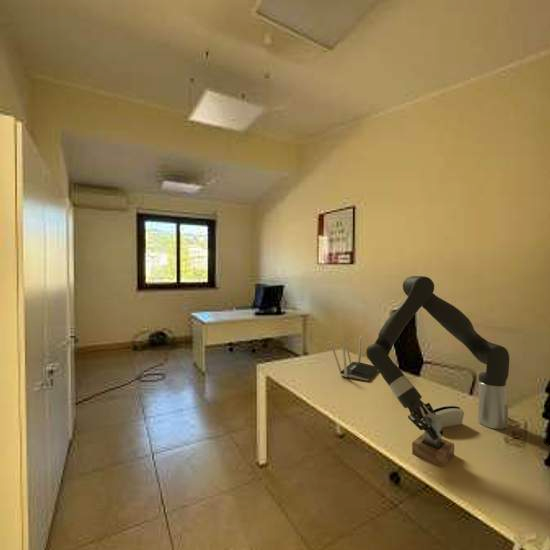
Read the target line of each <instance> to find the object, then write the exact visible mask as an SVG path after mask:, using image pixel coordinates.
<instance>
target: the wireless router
mask: <svg viewBox="0 0 550 550" xmlns="http://www.w3.org/2000/svg"><path fill="white" fill-rule="evenodd" d="M343 340H344V345H345V346H344V345H342V357H343V367H344V368H343V369H342V368H341V365H340V362H339V359H338V356H337V353H336V349H335V348H334V345H333V344H332V343H330V346H331V349H332V352H333V355H334V358H335V361H336V365H337V367H338V370H339V374H340V375H343V377H345V378H349V379H350V378H352V379H356V380H362V381H365V382H366V381H369V380H370V379H371V378H372V377H373V375H375V374H376V372H377V371H378V370H377V369H376V368H375V366H374V365H373V364H367V363H364V362H361V361H362V360H361V357H362V356H361V355H362V334H361V335H359V342H358V343H359V344H358V357H357V361H352V360H351V355H350V350H349V347H348V343H347V342H348V341H347V339H346V337H345V336H343ZM346 354H347V357H348V361H349V364H348V365H347V357H346Z"/></svg>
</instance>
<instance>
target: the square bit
mask: <svg viewBox="0 0 550 550" xmlns="http://www.w3.org/2000/svg"><path fill="white" fill-rule="evenodd" d="M425 417H426V418H427V422H428V423H429V424H430V426H431V427H432V429H433V430H434V431H435V433H436V434H437V435H438V436H439V438H438V439H436V440H433V439H432V438H431V437H430V436H429V434H428V433H427V431H426V430H424V432H425V445H428V446H430V447H433V448H435V449H438V450H439V449H440V448H441V439H442V435H441V429H442V428H441V426H442V416H439V415H436V414H433V413H430V412H429V413H428V414H427V415H425Z"/></svg>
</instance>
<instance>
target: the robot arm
mask: <svg viewBox="0 0 550 550" xmlns="http://www.w3.org/2000/svg"><path fill="white" fill-rule="evenodd" d="M402 290H403V293H404V294H405V295H406V296H407V298H406V299H405V301H404V302H403V303H402V305H401V306H400V307H398V308H397V310H395V311H394V312H393V313H392V314H391V315H390V316H389V317H388V318H387V319H386V321H385V323H384V324H383V326H381V329H380V330H379V332H378V337H377V339H376V341H375V342H374V343H373V344H369V345H368V346H367V348H366V351H365V354H366V357H367V359H368V360H369V361H370V363H371V365H372V366H375V368H376V369H377V371H378V372H379V374H380V375H381V376H382V378H383V380H384V381H385V382H386V384H387V386H389V388H390V390H391V392H392V393H393V394H394V396H395V397H396V399H397V400H398V402H399V403H400V404H401V405H402V407H403V408H404V409H408V410H409V412H410V413H409V414H408V415H407V419H408V420H409V421H411V422H412V423H413V424H414V425H415V426H416V427H417V428H418V429H419V430H420V431H425V430H426V431H427V433H428V434H429V436H430V437H431V438H432V439H433V440H436V439H438V438H439V436H438V435H437V434H436V433H435V431H434V430H433V429H432V427H431V426H430V424H429V423H428V422H427V418H426V417H425V415H427V414H428V413H429V412H430V413H433V414H435V412H434V410H433V407H432V405H431V404H430V403H429V402H427V403H425V402H424V401H422V397H423V396H422V395H421V394H420V392H419V391H418V389H417V388H416V387H415V386H414V384H413V383H412V382H411V381H410V379H409V378H408V377H407V376H406V375H405V374H404V373H403V371H402V370H401V369H400V368H399V367H398V366H397V365H396V363H394V362H393V360H392V359H391V357H390V356H389V355H390V353H391V351H392V349H393V346H394V345H395V344H396V342H397V340H398V339H399V337H400V336H401V334H402V332H403V331H404V329H405V327H406V326H407V325H408V324H409V323H410V321H411V320H412V318H413V317H414V316H415V314H417V312H418V311H419V310H420V308H422V309H425V311H426V312H427V313H428V314H429V315H430V316H431V317H432V318H433V319H434V320H435V321H436V322H437V323H439V324H440V326H442V327H443V328H444V329H445V330H446V331H447V332H449V334H450V335H452V336H453V337H454V338H456V340H458V341H459V342H461V344H463V345H464V347H465V348H467V349H468V350H469V351H470V353H471V354H472V355H473V357H474V358H476V359H477V360H478V361H479V362H480V363H482V364H484V365H486V370H485V371H483V372H480V373H479V374H478V413H477V414H478V416H477V417H478V423H479V424H481V425H482V426H484V427H487V428H489V429H493V430H503V429H509V404H508V403H507V399H506V397H507V395H506V393H507V391H506V390H507V380H508V378H509V374H510V373H509V372H510V353H509V351H508V349H507V347H504V346H502V345H499V344H496V343H493V342H490V341H488V340H487V339H486V338H484V337H482V336H481V335H480V334H479V333H478V332H477V331H476V330H475V328H474V326H473V323H472V322H471V320H470V318H469V317H468V316H467V315H465V313H463V311H461V310H460V309H459V308H457V307H456V306H454V305H453V304H452V303H449V302H447V301H446V300H444V299H443V298H441V297H439V296H437V295H436V294H435V293H434V292H435V283H434V281H433V280H432V279H431V278H430V277H428V276H424V275H412V276H409V277H406V278H405V279H404V281H403V282H402ZM424 422H425V423H424ZM443 434H445V431H444V430H443V429H442V428H441V436H442V435H443Z"/></svg>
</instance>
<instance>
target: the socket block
mask: <svg viewBox="0 0 550 550" xmlns="http://www.w3.org/2000/svg"><path fill="white" fill-rule="evenodd" d="M411 443H412V445H411V448H412V449H411V451H412V452H411V453H412V454H411V455H415V456H417V457H419V458H422V459H424V460H425V461H427V462H430V463H432V464H435V465H436V466H440V467H442V468H443V467H444V466H445V465H446V464H447V463H448V462H449V461H450V460H451V459H452V458H453V457H454V456H455V443H454V442H451V441H449V440H446V439H443V438H441V448H440V449H439V450H438V449H435V448H433V447H430V446H428V445H425V431H424V432H423V433H422V434H420V435H419V436H418V437H417V438H416V439H414V440H413V441H412V442H411Z"/></svg>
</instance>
